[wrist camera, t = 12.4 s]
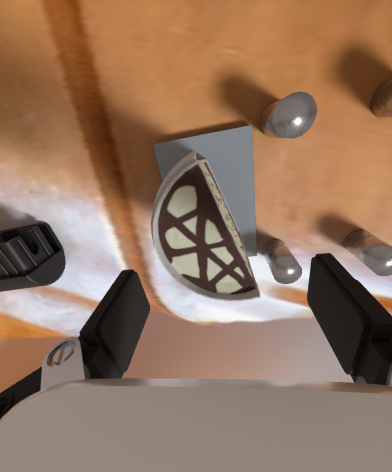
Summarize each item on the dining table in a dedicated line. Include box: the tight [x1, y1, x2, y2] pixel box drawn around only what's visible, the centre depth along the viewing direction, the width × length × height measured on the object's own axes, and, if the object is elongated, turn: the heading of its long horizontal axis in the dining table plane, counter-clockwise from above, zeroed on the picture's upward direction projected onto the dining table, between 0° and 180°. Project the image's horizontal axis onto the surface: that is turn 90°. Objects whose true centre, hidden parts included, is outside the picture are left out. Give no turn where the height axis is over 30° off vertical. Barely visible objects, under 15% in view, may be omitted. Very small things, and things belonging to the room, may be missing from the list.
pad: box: [153, 125, 257, 257], centre depth 23 cm, size 10×15×1 cm, turn 10°
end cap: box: [0, 223, 66, 292], centre depth 26 cm, size 10×7×7 cm
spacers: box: [260, 79, 392, 284], centre depth 20 cm, size 13×18×5 cm
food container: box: [151, 150, 260, 301], centre depth 19 cm, size 12×6×10 cm, turn 27°
